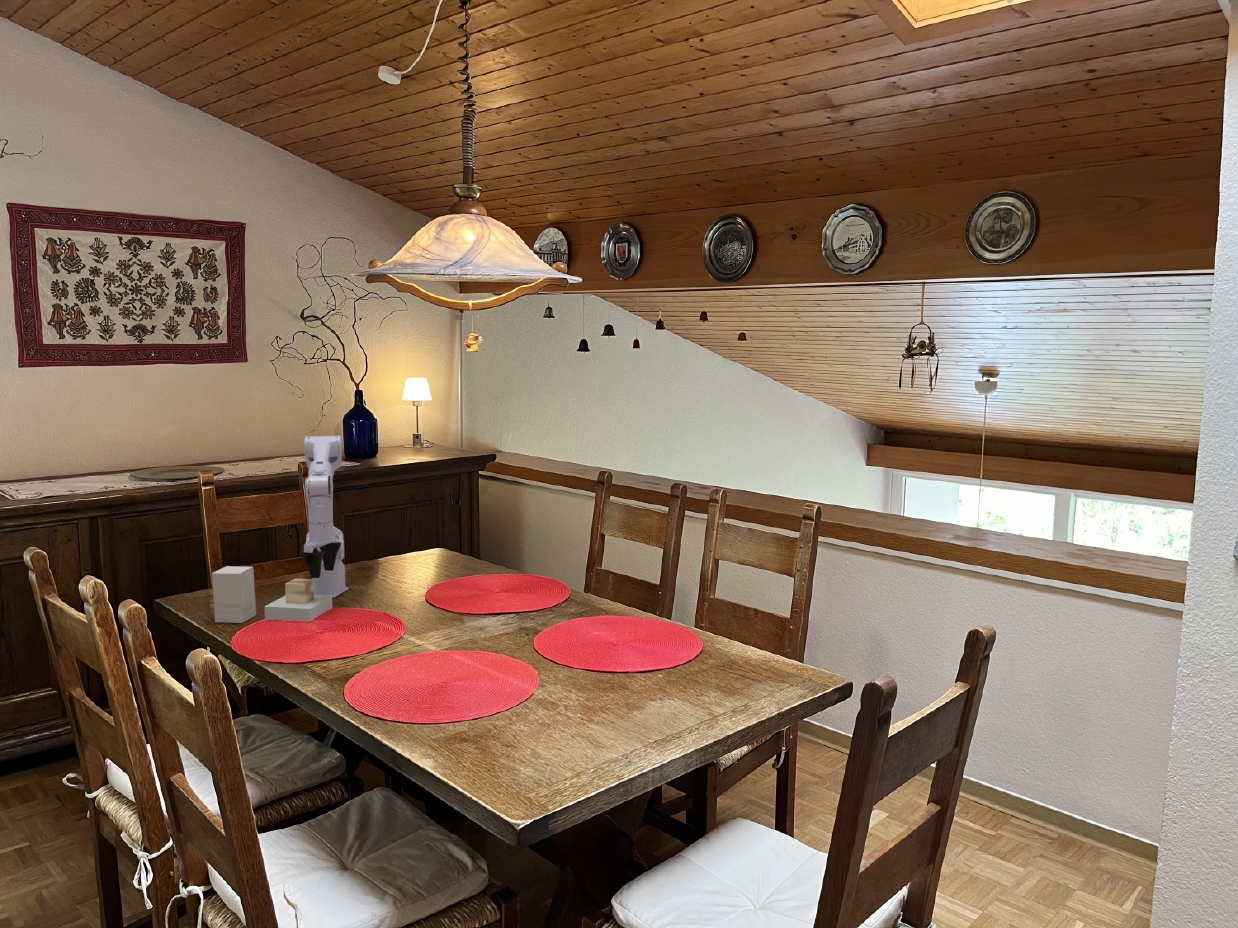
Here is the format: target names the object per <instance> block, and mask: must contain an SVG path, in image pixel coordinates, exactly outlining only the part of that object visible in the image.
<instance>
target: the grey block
mask: <svg viewBox="0 0 1238 928" xmlns="http://www.w3.org/2000/svg"><path fill="white" fill-rule="evenodd" d="M263 607H264V621H266V620H270V619H271V620H273V619H276V620H279V619H282V620H303V621H311V620H312V619H314V618H316V617H317V616H318V615H321V614H322V613H323V612H325V611H326V610H330V609H332V610H333V598H332V596H325V595H314V599H313V600H311V601H309V602H307V603H306V604H294V603H286V594H285V595H284V596H281V597H280V598H278V599H276V600H274V601H272V602H270V603H269V604H266V605H265V606H263ZM330 611H331V610H330Z"/></svg>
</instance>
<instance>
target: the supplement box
mask: <svg viewBox="0 0 1238 928" xmlns="http://www.w3.org/2000/svg"><path fill="white" fill-rule="evenodd" d="M211 578H212V579H211V580H212V594H213V609H214V610H213V612H214V622H215V623H229V624H230V623H232V624H233V623H234V624H239V623H240V624H243V623H245V622H247V621H249V620H250V619H252V618H253V617H255V616H256V615H257V607H256V606H257V605H256V591H255V590H256V588H255V574H254V566H236V565H235V566H230V565H226V566H223V567H222V568H220V569H218V570H216V571H213V572H212V573H211Z"/></svg>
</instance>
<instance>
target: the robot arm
mask: <svg viewBox="0 0 1238 928" xmlns="http://www.w3.org/2000/svg"><path fill="white" fill-rule="evenodd" d="M303 440H304V441H303V447H304V448H303V451H304V457H305V464H306V466H307V468H308V476H307V477H306V478H305V480H304V491H305V497H306V505H307V511H308V512H307V514H308V515H307V517H308V532H307V534H306V535H305V536H306V538H305V539H306V541H305V543H304V544H303V550H301V551H300V555H301V557H302V558H303V560H304V562H305V564H306V566H307V569H308V571H309V575H310V579H313V580H314V595H325V596H332V599H333V598H336V597H338V596H339V595H342V594H343V593H344V592H347V590H349V587H347V586H346V568H345V567H346V566H345V564H344V563H343V559H345V544H344V543H345V540H344V533H343V531H342V530H341V529H339V528H338V527H335V526H334V515H333V513H334V512H333V511H334V510H333V509H334V508H333V507H334V504H333V503H334V501H333V500H334V497H333V496H334V495H333V494H334V482H333V479H334V475H335V471H336V470H338V469H339V468H341V467H342V461H343V459H342V457H343V443H342V442H343V441H342V436H341V435H340V434H339V435H321V436H320V435H316V436H313V435H312V436H309V435H305V437H304V438H303Z"/></svg>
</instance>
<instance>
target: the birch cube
mask: <svg viewBox="0 0 1238 928" xmlns="http://www.w3.org/2000/svg"><path fill="white" fill-rule="evenodd" d="M284 586H285V587H284V591H285V595H286V603H294V604H306V603H307V602H309V601H311V600H313V599H314V580H313V579H312V578H310V579H308V578H293V579H291V580H289V581H288V582H286V583H284Z"/></svg>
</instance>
